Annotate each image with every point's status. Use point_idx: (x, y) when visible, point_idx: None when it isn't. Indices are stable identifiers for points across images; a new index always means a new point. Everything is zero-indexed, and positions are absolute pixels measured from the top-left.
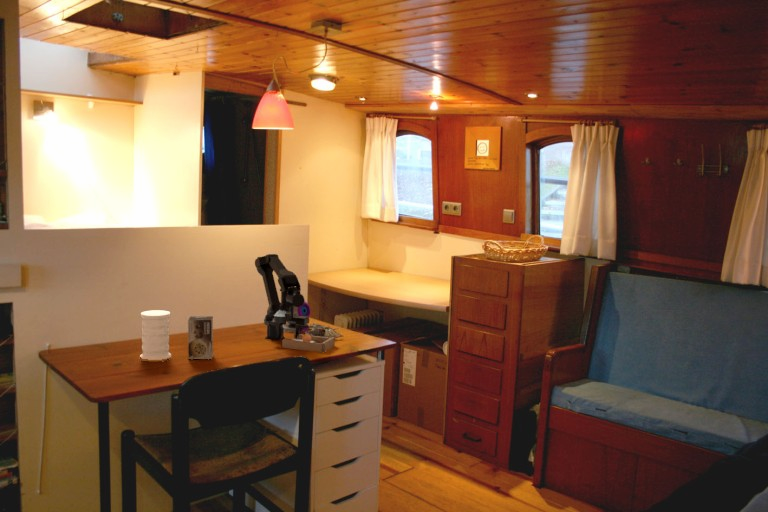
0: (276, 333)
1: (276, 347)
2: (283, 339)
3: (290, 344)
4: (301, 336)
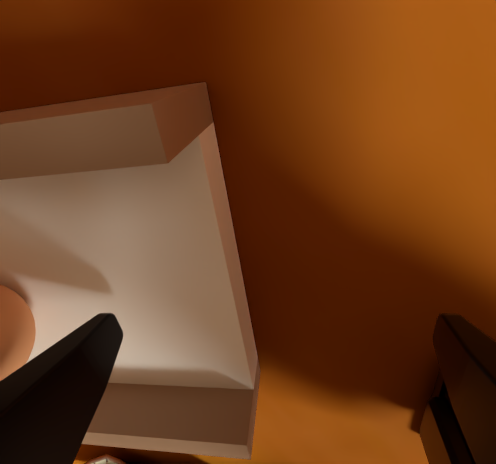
0: (485, 366)
1: (294, 21)
2: (135, 115)
3: (32, 110)
4: (155, 418)
